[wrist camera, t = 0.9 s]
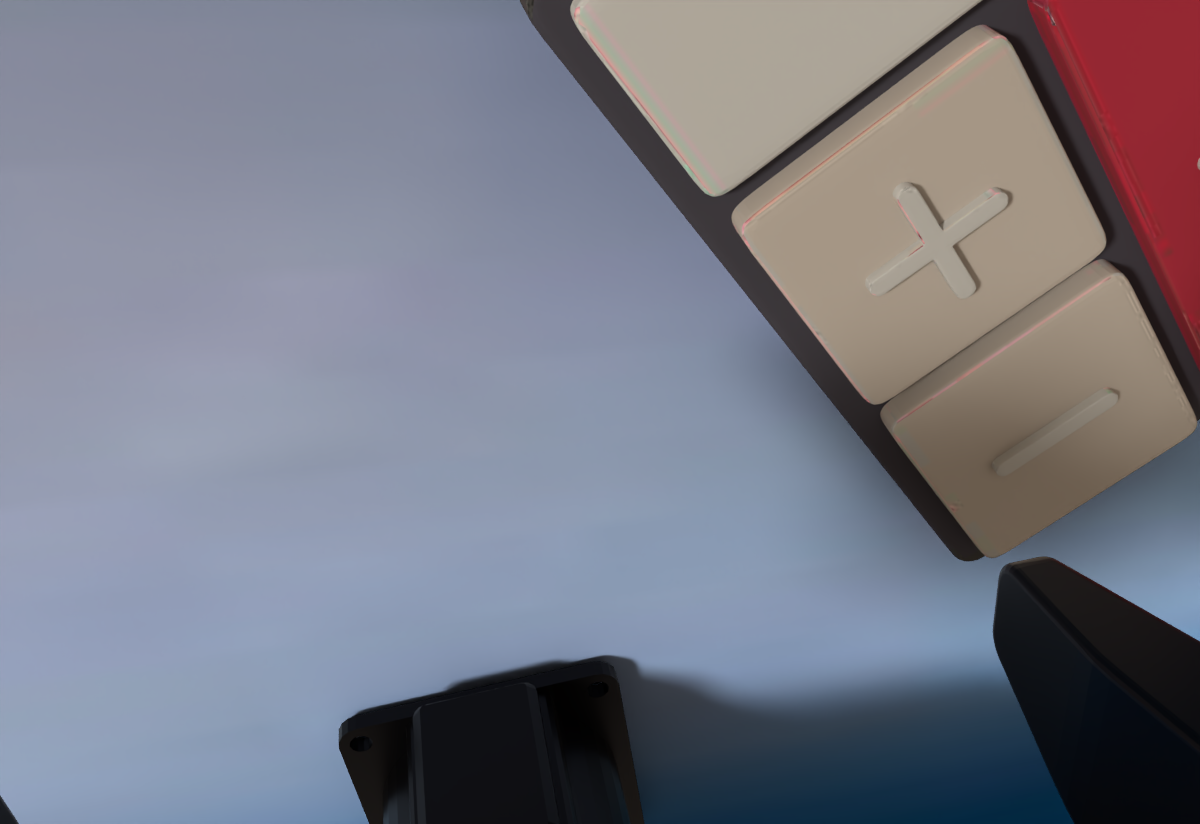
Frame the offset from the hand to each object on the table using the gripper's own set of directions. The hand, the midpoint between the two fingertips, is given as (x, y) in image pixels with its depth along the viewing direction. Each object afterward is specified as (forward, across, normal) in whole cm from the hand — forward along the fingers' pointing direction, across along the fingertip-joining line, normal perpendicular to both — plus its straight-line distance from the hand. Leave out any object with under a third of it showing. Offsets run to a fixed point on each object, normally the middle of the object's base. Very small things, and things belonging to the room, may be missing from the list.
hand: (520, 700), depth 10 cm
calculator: (+13, -10, 0) cm, 16 cm away
